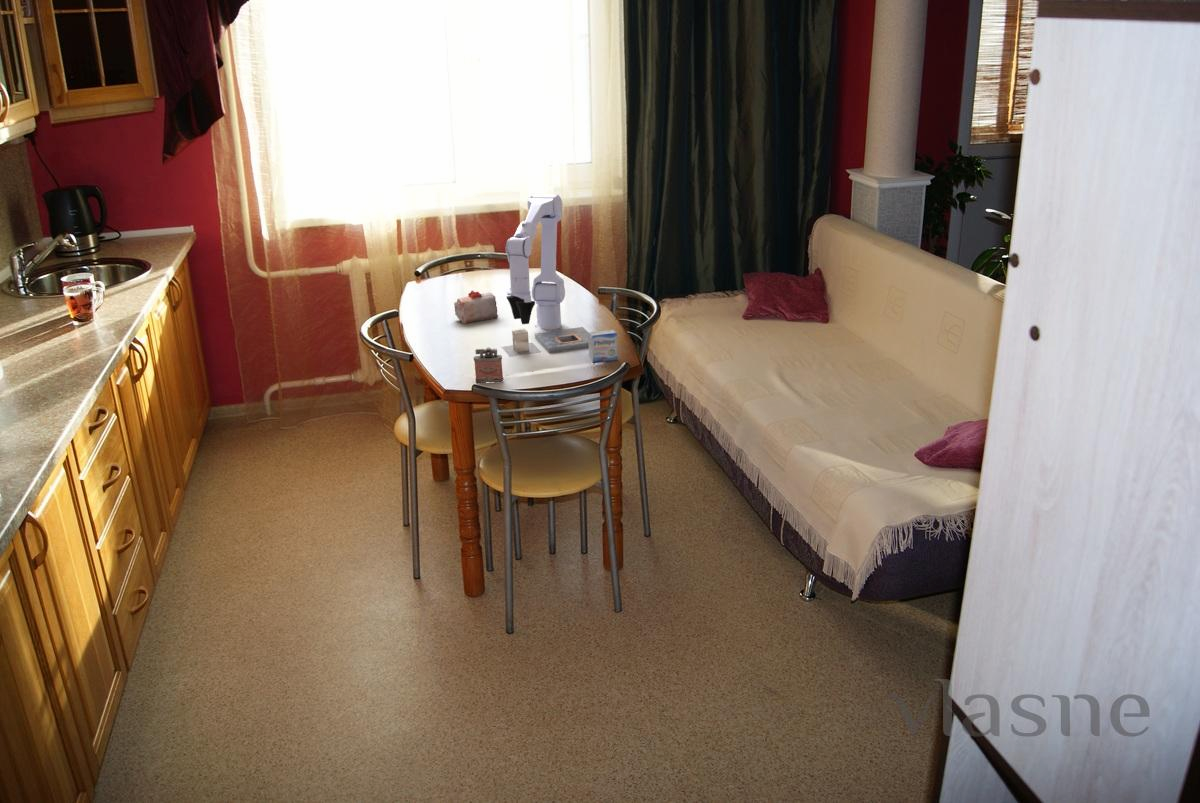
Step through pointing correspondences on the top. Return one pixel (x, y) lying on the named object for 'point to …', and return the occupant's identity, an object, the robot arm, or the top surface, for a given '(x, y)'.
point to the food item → (476, 307)
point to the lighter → (488, 366)
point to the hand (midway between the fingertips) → (521, 321)
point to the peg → (520, 340)
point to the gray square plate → (512, 352)
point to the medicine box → (603, 345)
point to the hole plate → (563, 339)
